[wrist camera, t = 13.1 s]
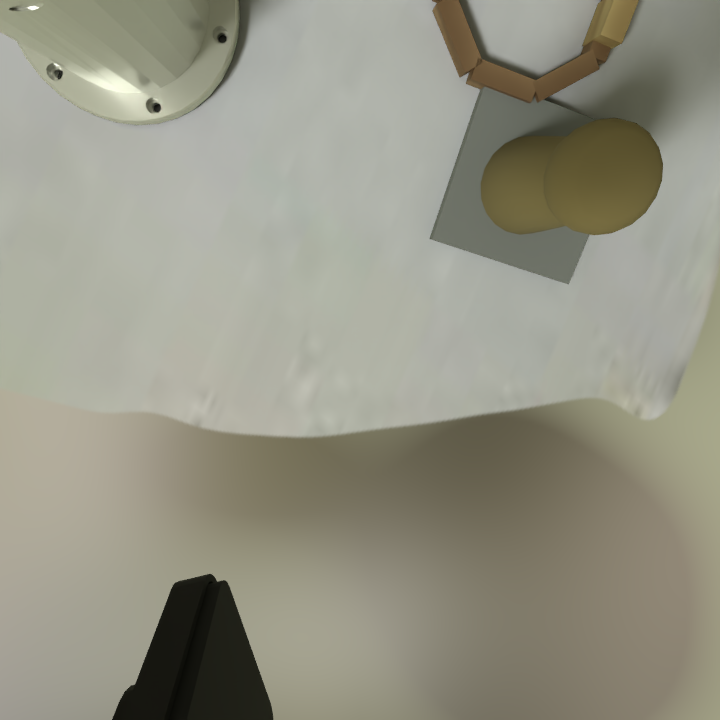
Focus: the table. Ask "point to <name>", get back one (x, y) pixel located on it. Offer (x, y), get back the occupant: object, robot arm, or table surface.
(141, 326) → the table surface
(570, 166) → the cork
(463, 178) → the pad
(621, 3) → the collar
